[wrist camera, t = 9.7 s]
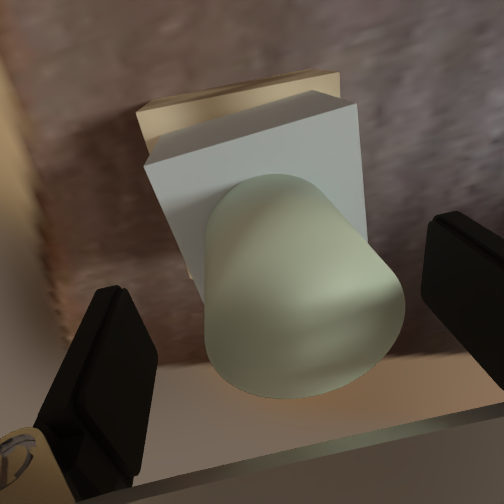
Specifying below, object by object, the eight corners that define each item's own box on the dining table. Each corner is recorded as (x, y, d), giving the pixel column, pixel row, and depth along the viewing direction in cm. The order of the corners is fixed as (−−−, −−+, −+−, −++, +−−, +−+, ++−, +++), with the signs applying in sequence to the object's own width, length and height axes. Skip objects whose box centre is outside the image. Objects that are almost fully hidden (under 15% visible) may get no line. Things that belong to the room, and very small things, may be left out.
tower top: (312, 89, 15) (356, 103, 10) (331, 225, 18) (370, 277, 14) (161, 134, 15) (143, 166, 11) (210, 260, 18) (211, 322, 14)
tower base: (308, 68, 19) (339, 71, 14) (318, 212, 23) (343, 247, 19) (151, 99, 18) (135, 112, 14) (193, 238, 23) (190, 279, 19)
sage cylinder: (334, 160, 11) (415, 222, 7) (338, 278, 14) (398, 377, 9) (189, 189, 11) (179, 271, 7) (220, 303, 14) (227, 414, 9)
